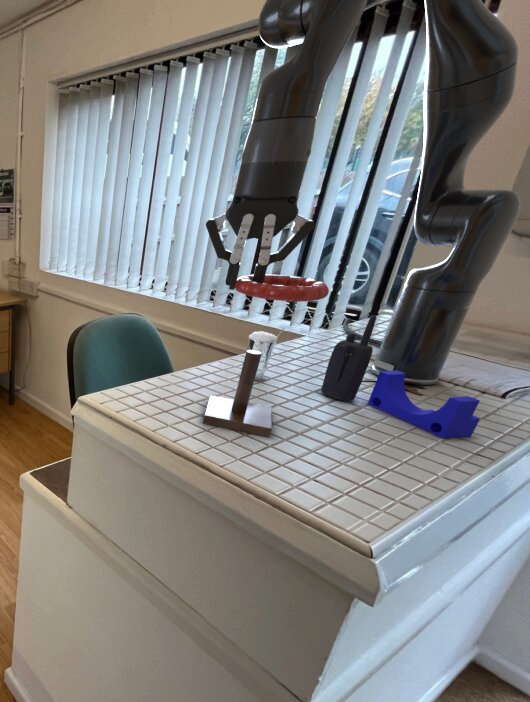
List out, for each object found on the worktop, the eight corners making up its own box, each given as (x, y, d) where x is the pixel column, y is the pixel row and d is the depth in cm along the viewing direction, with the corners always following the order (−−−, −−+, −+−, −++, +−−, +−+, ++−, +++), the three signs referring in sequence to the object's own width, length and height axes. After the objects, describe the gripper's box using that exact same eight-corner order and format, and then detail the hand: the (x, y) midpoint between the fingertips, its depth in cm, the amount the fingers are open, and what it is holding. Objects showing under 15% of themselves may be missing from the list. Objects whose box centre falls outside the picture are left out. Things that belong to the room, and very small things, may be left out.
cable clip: (470, 436, 68) (489, 399, 65) (443, 438, 67) (460, 401, 65) (391, 402, 79) (405, 369, 76) (367, 403, 78) (380, 371, 76)
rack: (208, 402, 80) (222, 340, 76) (269, 414, 76) (289, 348, 71) (202, 423, 73) (218, 355, 69) (269, 437, 69) (291, 366, 64)
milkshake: (275, 382, 88) (289, 331, 84) (244, 380, 89) (257, 330, 85) (264, 373, 92) (278, 325, 88) (235, 372, 93) (247, 324, 89)
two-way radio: (359, 401, 79) (392, 317, 73) (339, 405, 78) (370, 319, 72) (328, 389, 84) (355, 309, 78) (309, 392, 83) (335, 311, 77)
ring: (235, 284, 73) (238, 271, 72) (321, 291, 68) (326, 277, 67) (231, 297, 65) (235, 283, 64) (329, 306, 59) (334, 291, 58)
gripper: (336, 158, 61) (297, 289, 68) (217, 163, 68) (193, 281, 75) (342, 155, 55) (300, 299, 62) (212, 161, 62) (187, 289, 69)
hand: (242, 289), depth 68 cm, fingers closed on ring, 2 cm apart
